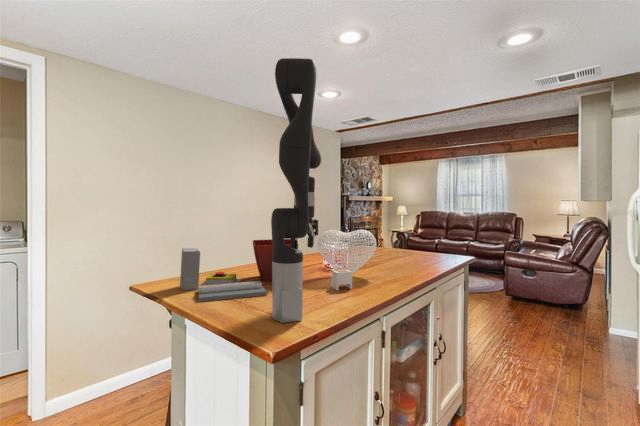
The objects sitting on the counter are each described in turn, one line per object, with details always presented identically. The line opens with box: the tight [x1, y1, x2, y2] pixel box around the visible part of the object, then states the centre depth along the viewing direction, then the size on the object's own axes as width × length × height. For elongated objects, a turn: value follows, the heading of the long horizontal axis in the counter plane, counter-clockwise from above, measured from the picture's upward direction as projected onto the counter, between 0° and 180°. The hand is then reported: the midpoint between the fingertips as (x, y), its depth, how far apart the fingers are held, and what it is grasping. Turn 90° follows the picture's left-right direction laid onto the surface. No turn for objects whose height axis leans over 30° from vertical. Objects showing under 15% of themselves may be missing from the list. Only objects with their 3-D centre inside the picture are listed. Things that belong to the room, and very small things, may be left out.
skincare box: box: [179, 247, 201, 291], centre depth 132 cm, size 8×7×16 cm
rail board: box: [197, 285, 268, 303], centre depth 124 cm, size 14×24×2 cm, turn 111°
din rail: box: [200, 280, 263, 293], centre depth 124 cm, size 4×22×2 cm, turn 111°
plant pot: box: [252, 239, 299, 283], centre depth 149 cm, size 19×19×17 cm
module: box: [331, 268, 353, 291], centre depth 133 cm, size 7×5×7 cm
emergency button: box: [202, 271, 242, 285], centre depth 142 cm, size 9×4×15 cm
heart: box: [317, 229, 378, 275], centre depth 154 cm, size 28×16×22 cm, turn 98°
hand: (302, 248), depth 119 cm, fingers open, 8 cm apart
